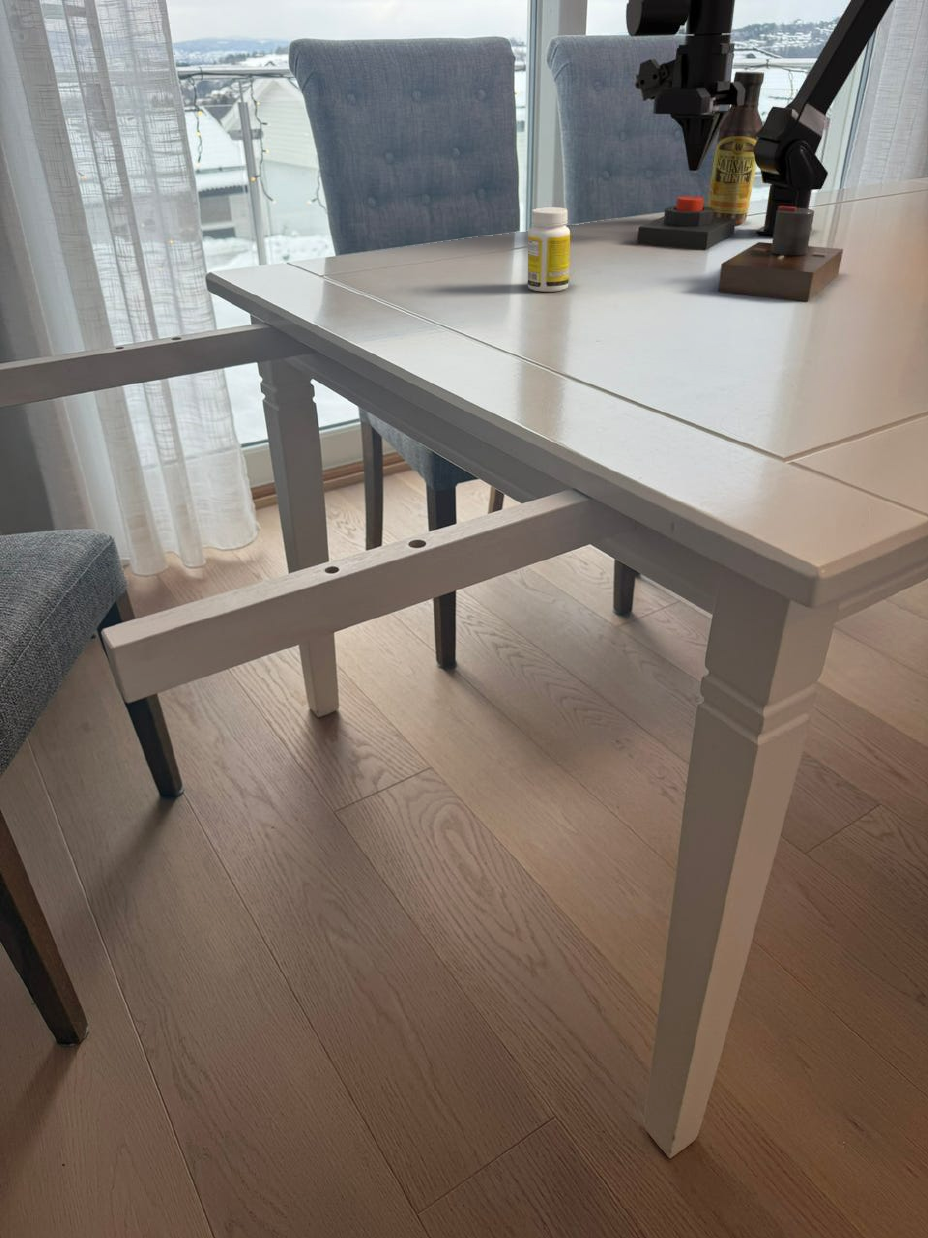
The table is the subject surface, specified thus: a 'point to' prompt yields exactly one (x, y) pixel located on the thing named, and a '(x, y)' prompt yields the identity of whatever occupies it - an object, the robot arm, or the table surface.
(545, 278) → the supplement bottle
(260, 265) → the table surface
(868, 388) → the table surface
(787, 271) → the knob panel
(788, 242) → the knob
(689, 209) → the button
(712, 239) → the button box
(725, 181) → the sauce bottle
